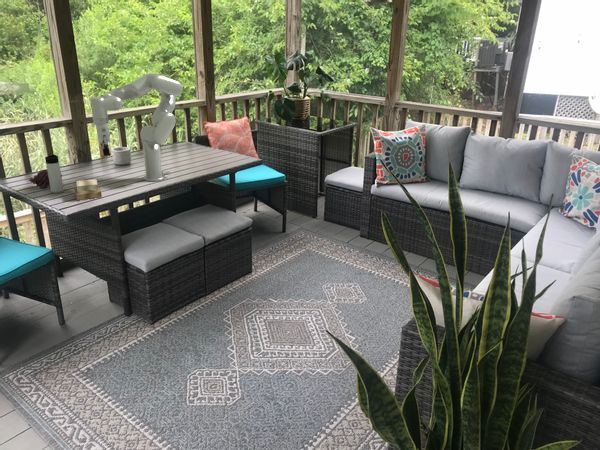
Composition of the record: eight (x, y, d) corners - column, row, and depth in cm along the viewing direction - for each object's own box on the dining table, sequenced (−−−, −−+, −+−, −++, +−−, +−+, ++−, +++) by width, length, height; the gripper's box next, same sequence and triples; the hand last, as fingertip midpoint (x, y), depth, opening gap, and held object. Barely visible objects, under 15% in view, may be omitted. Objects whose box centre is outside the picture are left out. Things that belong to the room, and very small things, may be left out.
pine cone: (59, 181, 281) (56, 164, 277) (67, 185, 275) (65, 168, 271) (27, 188, 268) (24, 170, 264) (35, 192, 262) (32, 174, 258)
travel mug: (66, 190, 267) (60, 154, 259) (61, 193, 261) (54, 157, 253) (54, 189, 266) (48, 154, 259) (49, 193, 260) (42, 157, 253)
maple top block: (97, 186, 264) (96, 179, 262) (98, 191, 255) (97, 184, 254) (77, 187, 260) (76, 180, 258) (78, 193, 251) (76, 186, 250)
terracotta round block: (110, 153, 268) (109, 144, 266) (112, 155, 264) (110, 147, 262) (99, 154, 266) (98, 145, 264) (101, 157, 261) (100, 148, 259)
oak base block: (98, 192, 266) (97, 185, 265) (102, 198, 257) (101, 191, 255) (75, 195, 261) (73, 188, 259) (77, 201, 251) (76, 194, 250)
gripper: (111, 123, 252) (116, 157, 259) (105, 117, 266) (110, 150, 273) (95, 124, 249) (101, 158, 256) (91, 118, 263) (96, 151, 270)
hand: (105, 153), depth 264 cm, fingers closed on terracotta round block, 5 cm apart
